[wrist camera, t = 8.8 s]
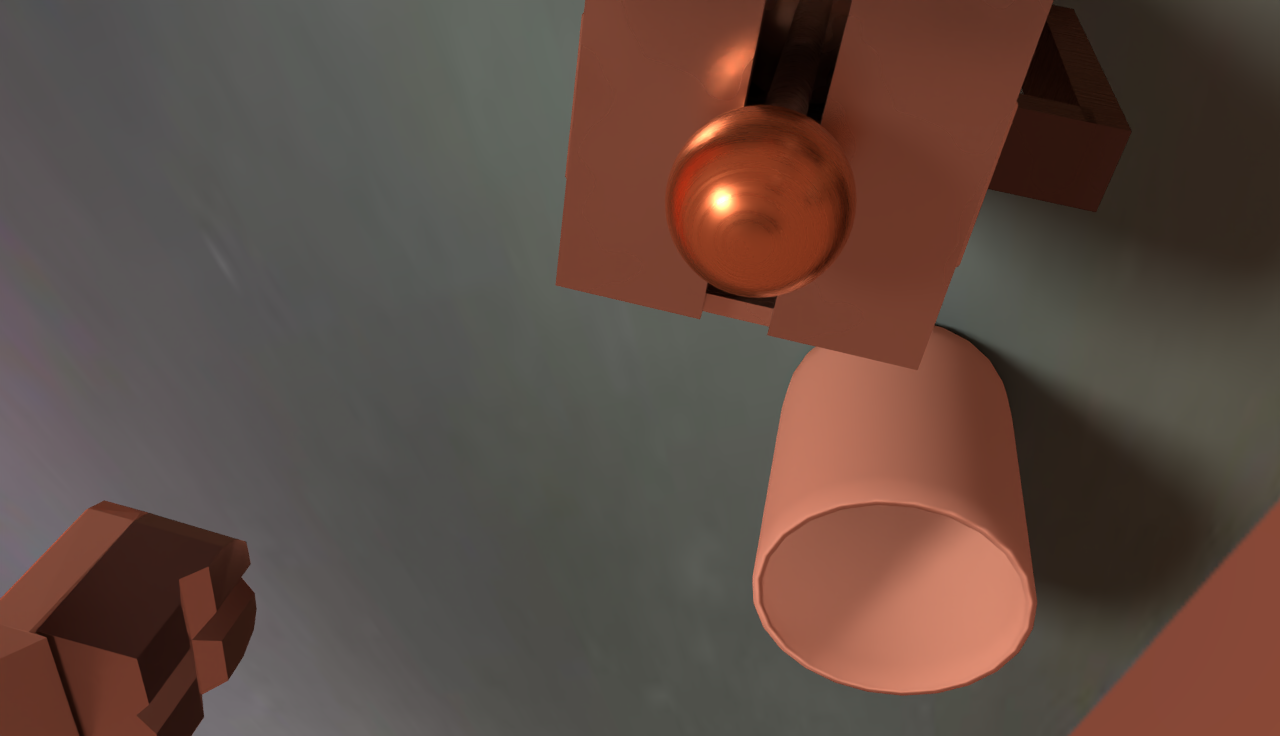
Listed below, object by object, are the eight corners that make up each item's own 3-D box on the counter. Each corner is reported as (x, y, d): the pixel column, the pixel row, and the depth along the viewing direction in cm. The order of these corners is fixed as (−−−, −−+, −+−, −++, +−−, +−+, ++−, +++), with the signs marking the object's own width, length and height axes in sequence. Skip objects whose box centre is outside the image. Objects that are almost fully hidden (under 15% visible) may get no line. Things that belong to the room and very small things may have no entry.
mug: (1053, 360, 42) (1094, 563, 32) (921, 552, 49) (923, 764, 39) (835, 278, 42) (813, 456, 32) (735, 481, 49) (693, 676, 40)
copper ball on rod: (733, -148, 31) (581, 12, 16) (961, -105, 30) (1008, 102, 16) (695, 73, 35) (546, 357, 20) (895, 115, 34) (886, 439, 20)
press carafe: (722, -209, 33) (586, -118, 19) (1099, -139, 32) (1246, 10, 18) (678, 64, 38) (546, 290, 24) (1001, 132, 37) (1056, 410, 23)
